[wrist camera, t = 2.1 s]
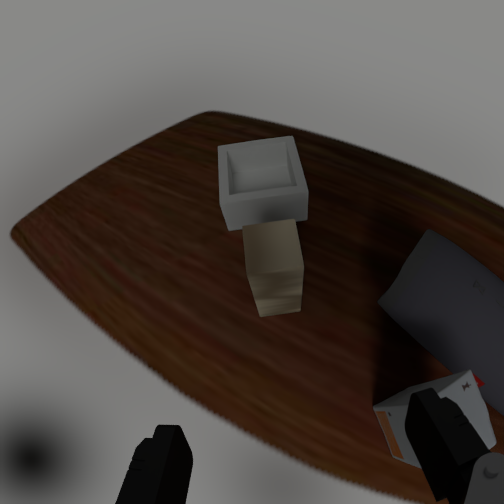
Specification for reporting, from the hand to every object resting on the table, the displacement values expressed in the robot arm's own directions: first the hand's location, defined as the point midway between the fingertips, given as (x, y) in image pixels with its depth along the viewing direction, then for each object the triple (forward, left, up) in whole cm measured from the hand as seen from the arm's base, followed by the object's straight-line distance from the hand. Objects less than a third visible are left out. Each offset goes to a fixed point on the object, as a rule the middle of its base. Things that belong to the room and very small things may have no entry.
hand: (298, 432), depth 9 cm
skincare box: (-10, +3, -19) cm, 21 cm away
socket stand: (0, -25, -18) cm, 31 cm away
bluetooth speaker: (-19, -2, -19) cm, 27 cm away
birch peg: (0, -12, -18) cm, 22 cm away
